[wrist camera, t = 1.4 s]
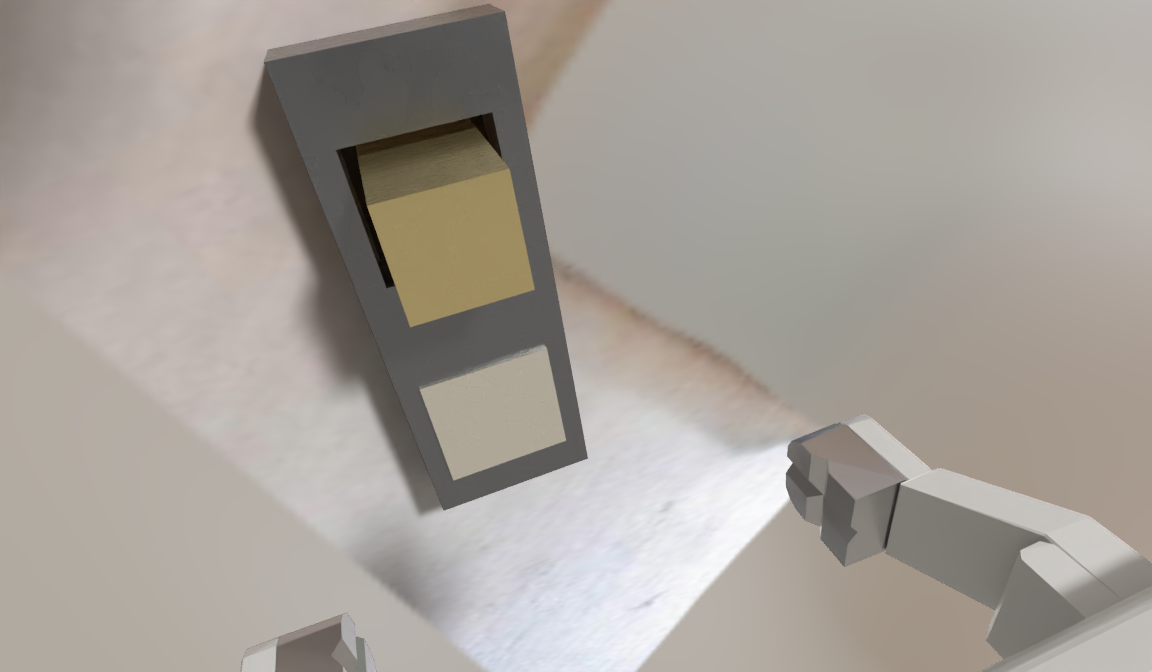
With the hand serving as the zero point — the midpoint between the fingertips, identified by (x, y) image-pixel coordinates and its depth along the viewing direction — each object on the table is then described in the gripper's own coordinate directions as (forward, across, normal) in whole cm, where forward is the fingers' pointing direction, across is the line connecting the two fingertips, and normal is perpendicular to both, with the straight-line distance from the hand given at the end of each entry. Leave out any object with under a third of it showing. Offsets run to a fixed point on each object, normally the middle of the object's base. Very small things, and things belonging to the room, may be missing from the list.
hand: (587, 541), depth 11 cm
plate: (+19, 0, +5) cm, 20 cm away
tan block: (+19, 0, 0) cm, 19 cm away
